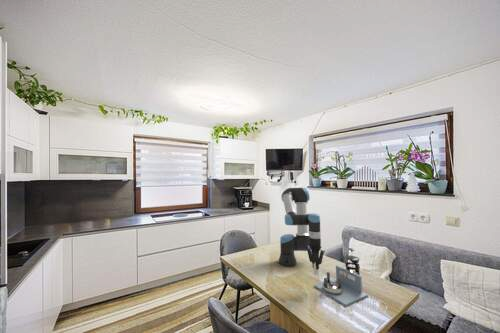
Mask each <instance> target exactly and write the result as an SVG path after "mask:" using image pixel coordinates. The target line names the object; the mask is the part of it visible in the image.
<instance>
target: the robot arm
mask: <svg viewBox="0 0 500 333" xmlns="http://www.w3.org/2000/svg"><path fill="white" fill-rule="evenodd" d="M310 199H311V198H310V193H309V190H308V189H307V187H288V188H286V189H284V191H283V192H282V193H281V201H282V202H283V205H284V210H285V215H284V224H285V226H297V227H296V229H297V232H296V233H295V235H294V234H292V233H289V234H283V235H281V236H280V241H279V243H280V247H279V248H280V255H279V258H278V264H279V265H281V266H283V267H295V266H296V265H297V257H296V256H295V252H299V251H300V252H302V251H303V252H307V255H308V260H309V262H310V263H311V264H312V269H313V275H315V276H317V275H319V269H320V265H321V264H322V263H323V258H324V254H325V252H326V250H325V249H323V247H322V240H321V236H322V234H321V216H320V214H319V213H307V204H308V203H309V201H310ZM294 204H295V205H296V208H295V205H294Z"/></svg>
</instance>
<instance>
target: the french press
mask: <svg viewBox="0 0 500 333" xmlns="http://www.w3.org/2000/svg"><path fill="white" fill-rule="evenodd" d="M348 250H349V251H350V252H351V253H353V251H356V249H355V248H348ZM344 258H345V261H347V260H349V262H345V269H346V270H349V271H351V272H353V273H355V274H357V275H360V276H361V274H360V269H361V266H360V262H359V261H360V257H358V256H355V255H345V257H344ZM349 265H351V266H349ZM353 266H354V267H353Z"/></svg>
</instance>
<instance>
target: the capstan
mask: <svg viewBox="0 0 500 333" xmlns="http://www.w3.org/2000/svg"><path fill="white" fill-rule="evenodd" d="M330 276H331V274H330V272H328V271H327V272H326V277H324V278H323V282H324V283H323V290H324V291H326V292H327V293H330V294H335V295H338V294H342V293H343V287H342V286H341V278H338V283H336V282H332V281H330V279H331V277H330Z"/></svg>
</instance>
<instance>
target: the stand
mask: <svg viewBox="0 0 500 333" xmlns="http://www.w3.org/2000/svg"><path fill="white" fill-rule="evenodd" d="M351 271H352V270H350V271H349V270H346V268H344V267H342V266H340V265H338V264H337V265H335V275H336V276H335V277H333V278H330V281H332V282H336V283H338V278H341V286H342V287H343V293H342V294H338V295H335V294H330V293H327V292H326V291H324V290H323V283H324V281H321V282H318V283H315V284H314V285H313V287H314V288H316V289H317V290H318V291H320V292H322V293H323V294H326V295H327V296H329V297H330V298H331V299H333V300H335V301H336V302H338V303H339V304H340V305H343V306H344V307H349V306H350V305H354V304H355V303H357V302H360V301H361V300H362V301H363V299H367V298H368V296H369V295H368V294H367V293H365V292H363V287H362V284H363V283H362V276H361V274H360V275H357V274H355V273H353V272H351Z"/></svg>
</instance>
